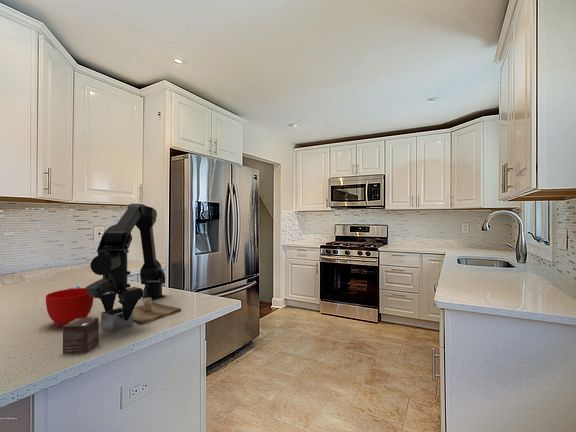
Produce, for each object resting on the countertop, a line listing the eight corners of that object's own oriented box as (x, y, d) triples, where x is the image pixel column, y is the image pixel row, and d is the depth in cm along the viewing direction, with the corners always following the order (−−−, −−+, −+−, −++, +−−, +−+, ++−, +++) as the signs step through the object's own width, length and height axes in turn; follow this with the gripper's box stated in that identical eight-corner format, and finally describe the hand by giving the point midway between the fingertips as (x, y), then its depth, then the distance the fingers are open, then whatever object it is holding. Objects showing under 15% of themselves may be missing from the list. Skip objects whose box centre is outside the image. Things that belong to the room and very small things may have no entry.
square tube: (121, 322, 101) (120, 307, 101) (133, 325, 98) (132, 309, 98) (101, 328, 96) (101, 312, 96) (113, 332, 93) (113, 315, 93)
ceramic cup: (104, 311, 112) (104, 284, 112) (84, 328, 95) (84, 296, 95) (64, 314, 109) (64, 286, 109) (36, 332, 93) (36, 299, 93)
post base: (152, 304, 121) (152, 290, 121) (181, 311, 113) (181, 296, 113) (112, 316, 107) (112, 300, 107) (141, 324, 99) (141, 307, 99)
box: (76, 344, 84) (76, 317, 84) (99, 343, 85) (99, 317, 85) (62, 354, 78) (61, 325, 78) (86, 353, 79) (86, 325, 78)
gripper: (73, 270, 94) (73, 320, 95) (108, 276, 85) (109, 332, 85) (109, 265, 104) (109, 310, 104) (144, 270, 95) (144, 320, 95)
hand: (117, 318), depth 97 cm, fingers open, 9 cm apart
